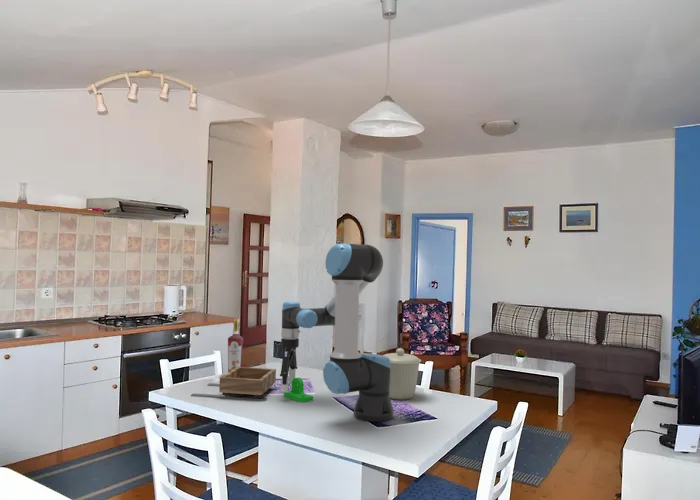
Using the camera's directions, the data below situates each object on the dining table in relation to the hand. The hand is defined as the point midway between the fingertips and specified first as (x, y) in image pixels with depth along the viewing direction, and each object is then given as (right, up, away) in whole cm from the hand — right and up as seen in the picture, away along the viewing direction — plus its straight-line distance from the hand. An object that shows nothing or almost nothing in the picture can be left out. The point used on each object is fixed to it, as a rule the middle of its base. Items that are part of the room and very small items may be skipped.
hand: (288, 387), depth 223 cm
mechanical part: (+5, -4, -4) cm, 7 cm away
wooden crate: (-17, -3, +2) cm, 18 cm away
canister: (+48, -5, +4) cm, 48 cm away
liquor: (-30, -3, +29) cm, 42 cm away
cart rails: (-23, -2, +3) cm, 23 cm away
